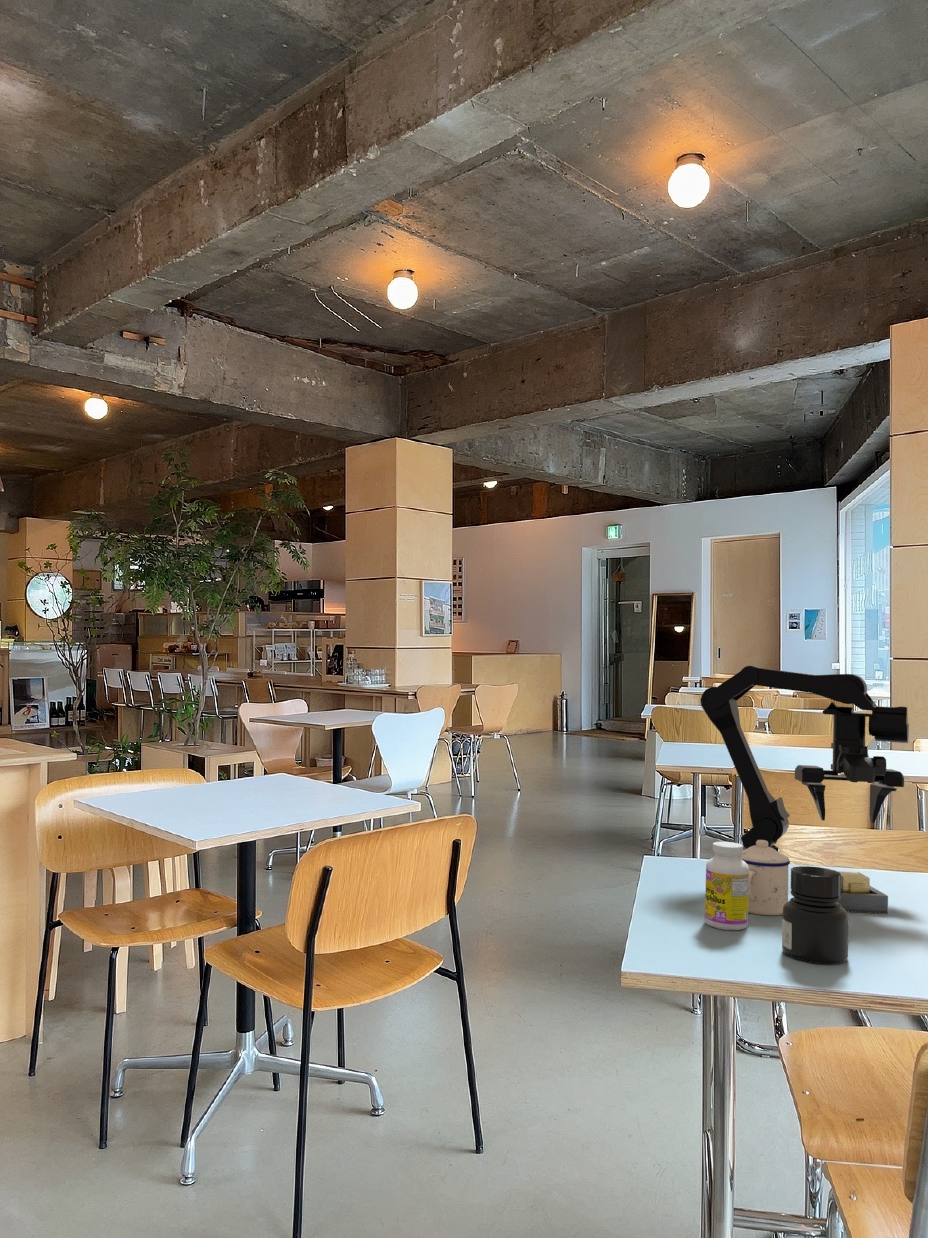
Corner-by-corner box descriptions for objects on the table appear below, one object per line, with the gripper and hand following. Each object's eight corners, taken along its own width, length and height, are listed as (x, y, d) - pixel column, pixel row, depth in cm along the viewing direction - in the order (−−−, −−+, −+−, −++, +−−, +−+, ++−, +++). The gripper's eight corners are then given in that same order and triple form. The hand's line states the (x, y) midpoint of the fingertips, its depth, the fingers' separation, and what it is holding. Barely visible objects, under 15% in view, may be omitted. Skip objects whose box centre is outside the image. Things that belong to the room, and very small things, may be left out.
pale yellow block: (844, 907, 157) (844, 877, 158) (832, 898, 163) (832, 870, 163) (870, 908, 157) (870, 878, 158) (857, 900, 163) (857, 871, 163)
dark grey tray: (834, 911, 156) (835, 894, 156) (804, 890, 171) (804, 874, 171) (887, 913, 156) (888, 896, 156) (852, 892, 171) (852, 876, 171)
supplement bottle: (696, 921, 147) (697, 841, 148) (730, 918, 149) (731, 839, 150) (722, 933, 141) (723, 849, 141) (757, 930, 143) (758, 847, 144)
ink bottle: (799, 942, 137) (800, 861, 138) (858, 956, 131) (859, 872, 132) (770, 955, 130) (771, 870, 131) (831, 971, 124) (832, 882, 125)
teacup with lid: (745, 899, 162) (746, 833, 163) (796, 909, 157) (797, 841, 157) (718, 912, 153) (719, 842, 154) (772, 923, 147) (773, 850, 148)
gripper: (812, 740, 167) (810, 826, 166) (917, 745, 165) (915, 831, 165) (794, 736, 178) (792, 816, 177) (892, 740, 177) (891, 821, 176)
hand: (847, 821), depth 173 cm, fingers open, 9 cm apart
